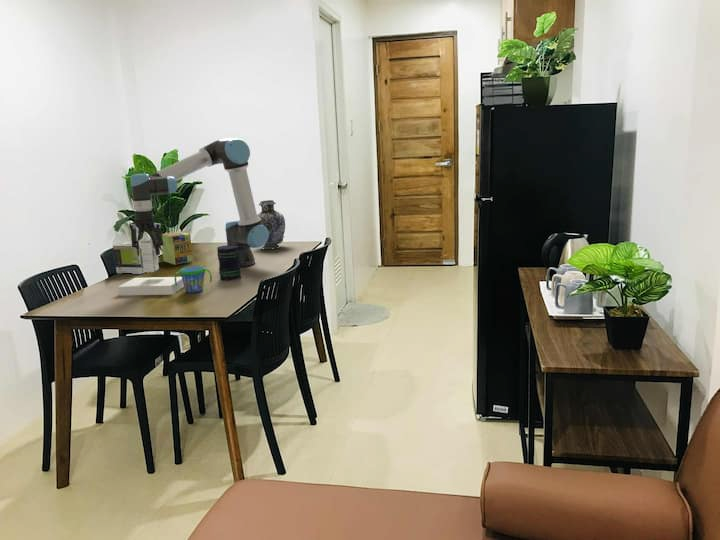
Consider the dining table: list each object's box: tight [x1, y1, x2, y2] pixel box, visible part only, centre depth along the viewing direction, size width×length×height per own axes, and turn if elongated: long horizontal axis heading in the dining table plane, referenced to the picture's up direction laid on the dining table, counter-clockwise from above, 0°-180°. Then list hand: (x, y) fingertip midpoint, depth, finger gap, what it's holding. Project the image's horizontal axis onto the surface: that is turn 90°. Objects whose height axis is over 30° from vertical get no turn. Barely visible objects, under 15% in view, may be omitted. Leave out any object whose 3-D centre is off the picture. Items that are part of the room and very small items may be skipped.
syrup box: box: [139, 237, 160, 273], centre depth 262 cm, size 6×6×14 cm
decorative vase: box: [257, 199, 286, 250], centre depth 350 cm, size 21×19×28 cm
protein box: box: [161, 231, 194, 266], centre depth 324 cm, size 10×15×16 cm
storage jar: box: [216, 244, 242, 282], centre depth 281 cm, size 10×10×15 cm
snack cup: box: [174, 265, 213, 294], centre depth 260 cm, size 16×10×10 cm
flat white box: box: [117, 276, 185, 296], centre depth 265 cm, size 24×16×4 cm, turn 85°
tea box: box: [112, 241, 145, 275], centre depth 304 cm, size 15×10×15 cm, turn 71°
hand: (149, 262), depth 263 cm, fingers closed on syrup box, 6 cm apart
